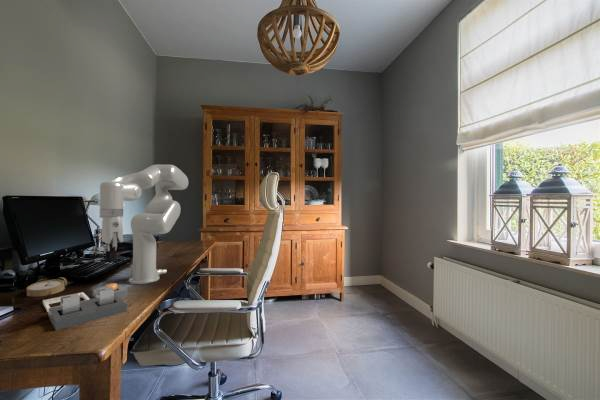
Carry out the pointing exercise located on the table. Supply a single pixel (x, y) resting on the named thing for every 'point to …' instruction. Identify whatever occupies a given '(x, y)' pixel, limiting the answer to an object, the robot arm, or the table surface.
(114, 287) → the button cap
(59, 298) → the tray
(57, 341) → the table surface
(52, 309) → the grey slotted frame
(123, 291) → the button housing
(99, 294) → the billet
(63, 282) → the alarm clock
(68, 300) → the block
